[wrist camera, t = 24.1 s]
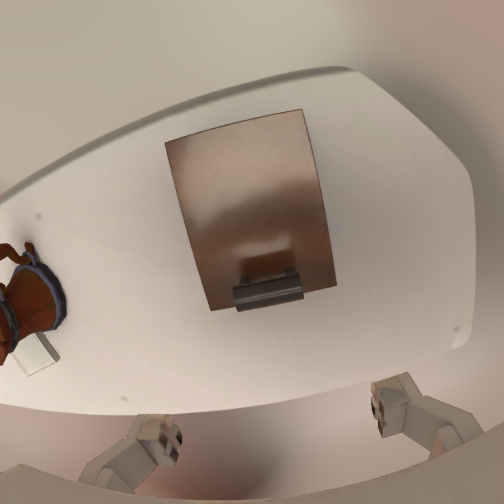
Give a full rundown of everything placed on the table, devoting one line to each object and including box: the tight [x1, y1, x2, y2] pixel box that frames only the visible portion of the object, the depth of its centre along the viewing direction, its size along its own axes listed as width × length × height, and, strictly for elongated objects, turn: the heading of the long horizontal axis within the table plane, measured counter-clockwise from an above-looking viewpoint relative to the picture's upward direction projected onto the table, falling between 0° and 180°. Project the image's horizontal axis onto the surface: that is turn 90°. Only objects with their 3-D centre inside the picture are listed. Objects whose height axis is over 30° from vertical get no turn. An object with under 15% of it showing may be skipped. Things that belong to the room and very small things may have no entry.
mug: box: [0, 242, 66, 366], centre depth 30 cm, size 18×12×15 cm, turn 179°
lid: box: [165, 109, 337, 312], centre depth 23 cm, size 15×12×5 cm
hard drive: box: [11, 332, 60, 377], centre depth 40 cm, size 2×8×12 cm
